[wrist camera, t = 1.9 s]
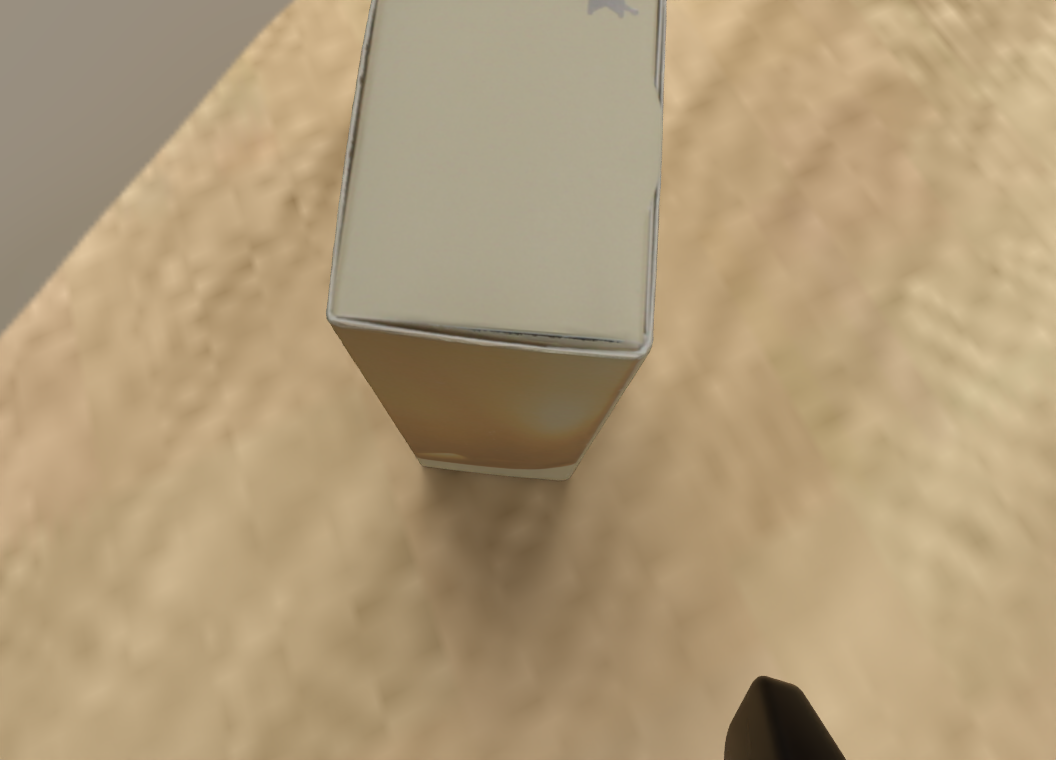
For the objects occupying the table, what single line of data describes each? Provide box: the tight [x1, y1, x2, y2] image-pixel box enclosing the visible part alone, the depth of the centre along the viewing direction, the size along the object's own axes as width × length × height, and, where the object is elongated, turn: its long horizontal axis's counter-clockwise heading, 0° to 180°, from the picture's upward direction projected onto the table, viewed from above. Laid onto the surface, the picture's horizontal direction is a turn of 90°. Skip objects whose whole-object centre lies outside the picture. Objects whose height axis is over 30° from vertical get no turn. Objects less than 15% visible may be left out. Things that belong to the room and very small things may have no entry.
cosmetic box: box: [326, 0, 667, 481], centre depth 16 cm, size 6×4×12 cm
